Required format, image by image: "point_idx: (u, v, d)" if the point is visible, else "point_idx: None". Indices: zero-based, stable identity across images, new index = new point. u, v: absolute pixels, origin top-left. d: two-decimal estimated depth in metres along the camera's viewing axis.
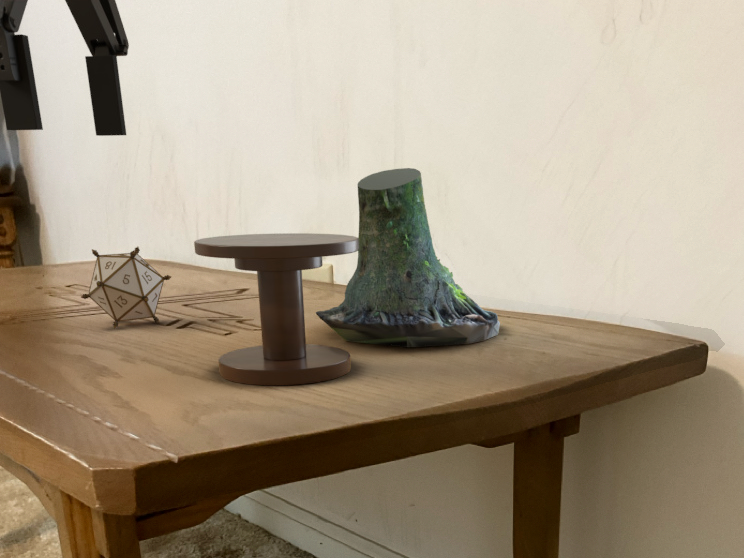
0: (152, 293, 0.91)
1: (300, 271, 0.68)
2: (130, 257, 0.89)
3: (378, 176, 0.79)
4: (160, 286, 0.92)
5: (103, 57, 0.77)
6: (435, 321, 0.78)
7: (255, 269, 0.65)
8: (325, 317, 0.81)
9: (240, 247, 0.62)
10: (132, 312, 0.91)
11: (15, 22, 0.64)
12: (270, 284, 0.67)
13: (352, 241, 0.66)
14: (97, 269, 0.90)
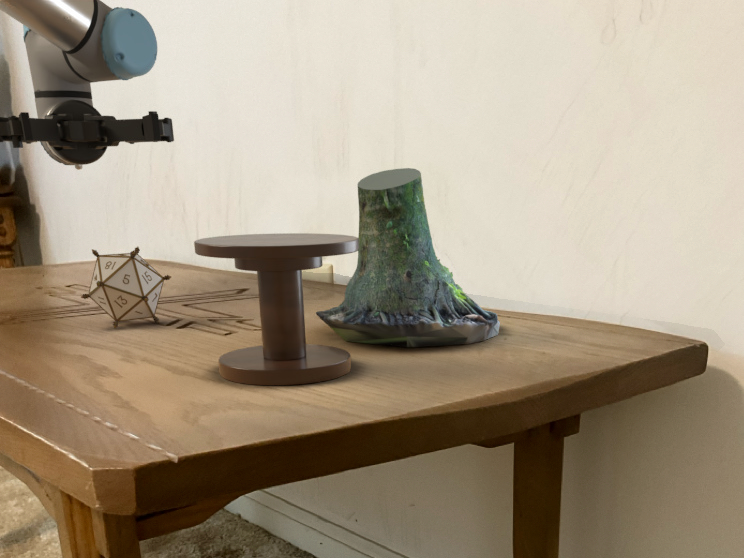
0: (152, 293, 0.91)
1: (300, 271, 0.68)
2: (130, 257, 0.89)
3: (378, 176, 0.79)
4: (160, 286, 0.92)
5: None
6: (435, 321, 0.78)
7: (255, 269, 0.65)
8: (325, 317, 0.81)
9: (240, 247, 0.62)
10: (132, 312, 0.91)
11: None
12: (270, 284, 0.67)
13: (352, 241, 0.66)
14: (97, 269, 0.90)
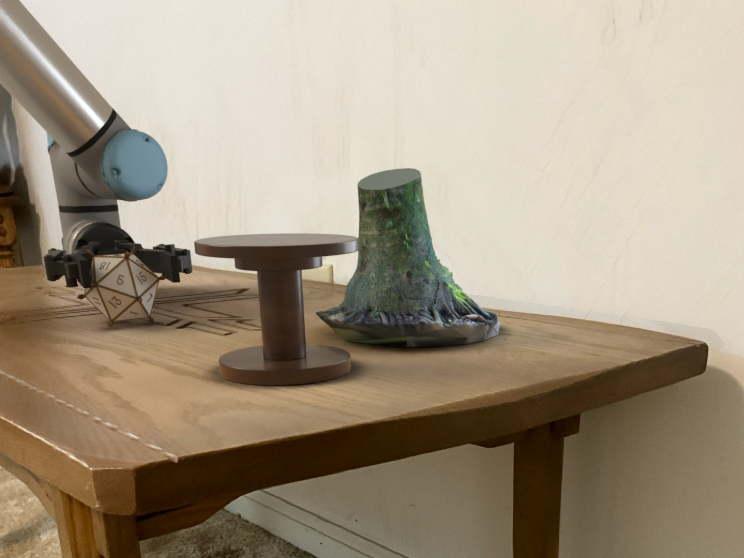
0: (147, 294, 0.91)
1: (300, 271, 0.68)
2: (124, 257, 0.89)
3: (378, 176, 0.79)
4: (155, 286, 0.92)
5: None
6: (435, 321, 0.78)
7: (255, 269, 0.65)
8: (325, 317, 0.81)
9: (240, 247, 0.62)
10: (127, 313, 0.91)
11: None
12: (270, 284, 0.67)
13: (352, 241, 0.66)
14: (92, 270, 0.90)
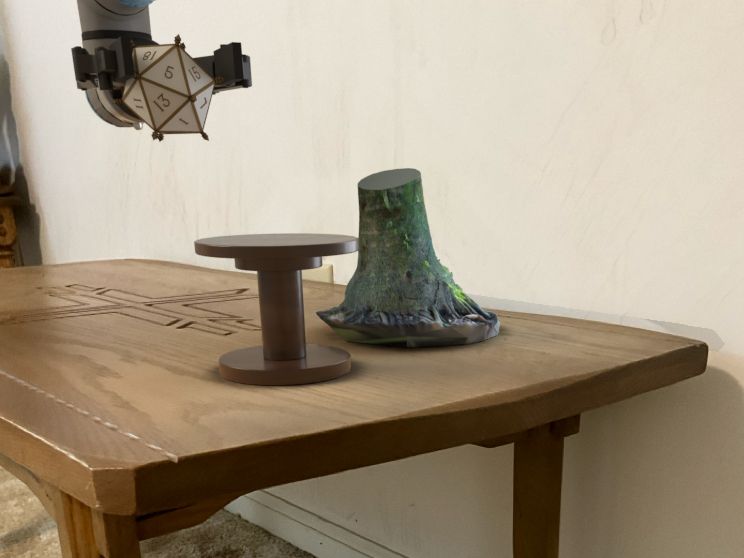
0: (201, 96, 0.73)
1: (300, 271, 0.68)
2: (174, 44, 0.70)
3: (378, 176, 0.79)
4: (211, 90, 0.74)
5: None
6: (435, 321, 0.78)
7: (255, 269, 0.65)
8: (325, 317, 0.81)
9: (240, 247, 0.62)
10: (176, 120, 0.73)
11: (229, 86, 0.78)
12: (270, 284, 0.67)
13: (352, 241, 0.66)
14: (133, 63, 0.72)
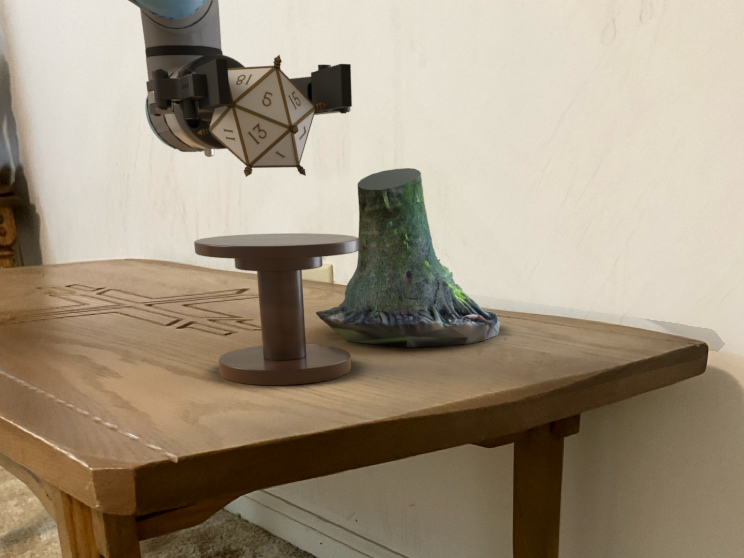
0: (300, 125, 0.63)
1: (300, 271, 0.68)
2: (273, 67, 0.61)
3: (378, 176, 0.79)
4: (310, 118, 0.64)
5: None
6: (435, 321, 0.78)
7: (255, 269, 0.65)
8: (325, 317, 0.81)
9: (240, 247, 0.62)
10: (272, 153, 0.63)
11: (326, 112, 0.68)
12: (270, 284, 0.67)
13: (352, 241, 0.66)
14: None
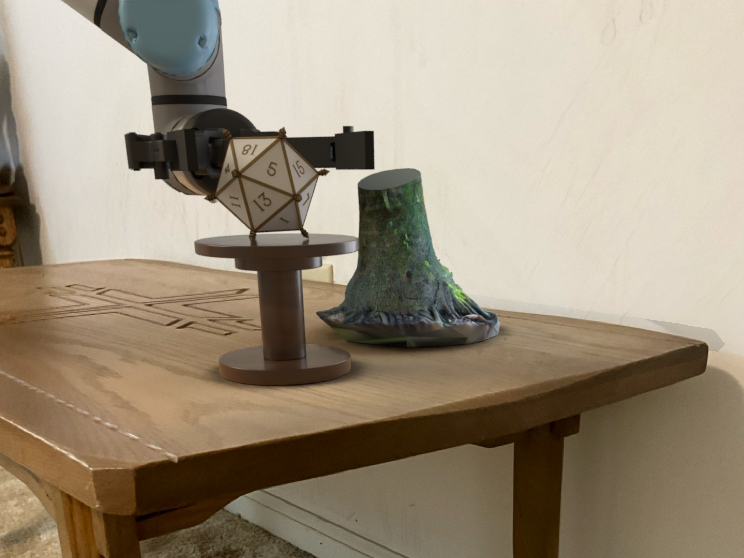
0: (304, 193, 0.65)
1: (300, 271, 0.68)
2: (278, 137, 0.62)
3: (378, 176, 0.79)
4: (314, 184, 0.66)
5: None
6: (435, 321, 0.78)
7: (255, 269, 0.65)
8: (325, 317, 0.81)
9: (240, 247, 0.62)
10: (277, 219, 0.65)
11: None
12: (270, 284, 0.67)
13: (352, 241, 0.66)
14: (229, 157, 0.64)
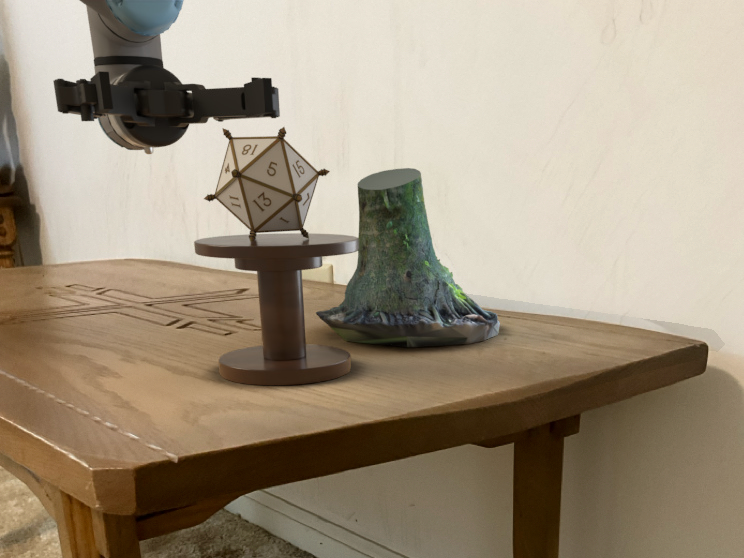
0: (304, 193, 0.65)
1: (300, 271, 0.68)
2: (278, 137, 0.62)
3: (378, 176, 0.79)
4: (314, 184, 0.66)
5: None
6: (435, 321, 0.78)
7: (255, 269, 0.65)
8: (325, 317, 0.81)
9: (240, 247, 0.62)
10: (277, 219, 0.65)
11: (258, 117, 0.81)
12: (270, 284, 0.67)
13: (352, 241, 0.66)
14: (229, 157, 0.64)
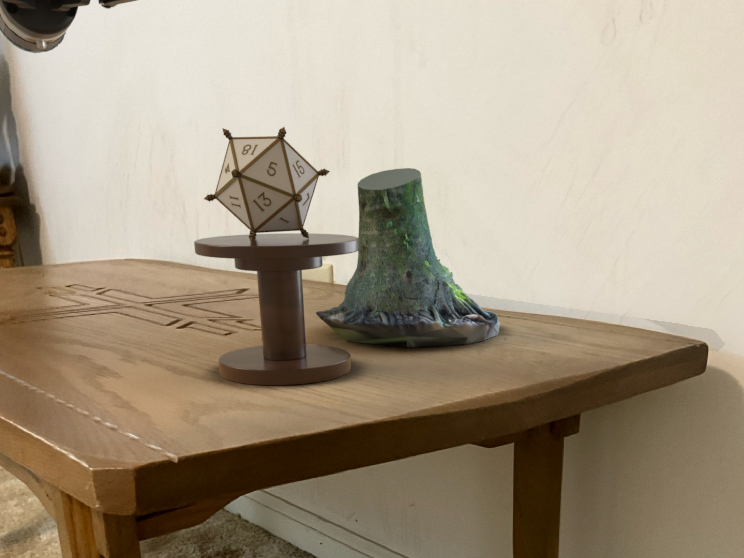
0: (304, 193, 0.65)
1: (300, 271, 0.68)
2: (278, 137, 0.62)
3: (378, 176, 0.79)
4: (314, 184, 0.66)
5: None
6: (435, 321, 0.78)
7: (255, 269, 0.65)
8: (325, 317, 0.81)
9: (240, 247, 0.62)
10: (277, 219, 0.65)
11: None
12: (270, 284, 0.67)
13: (352, 241, 0.66)
14: (229, 157, 0.64)
